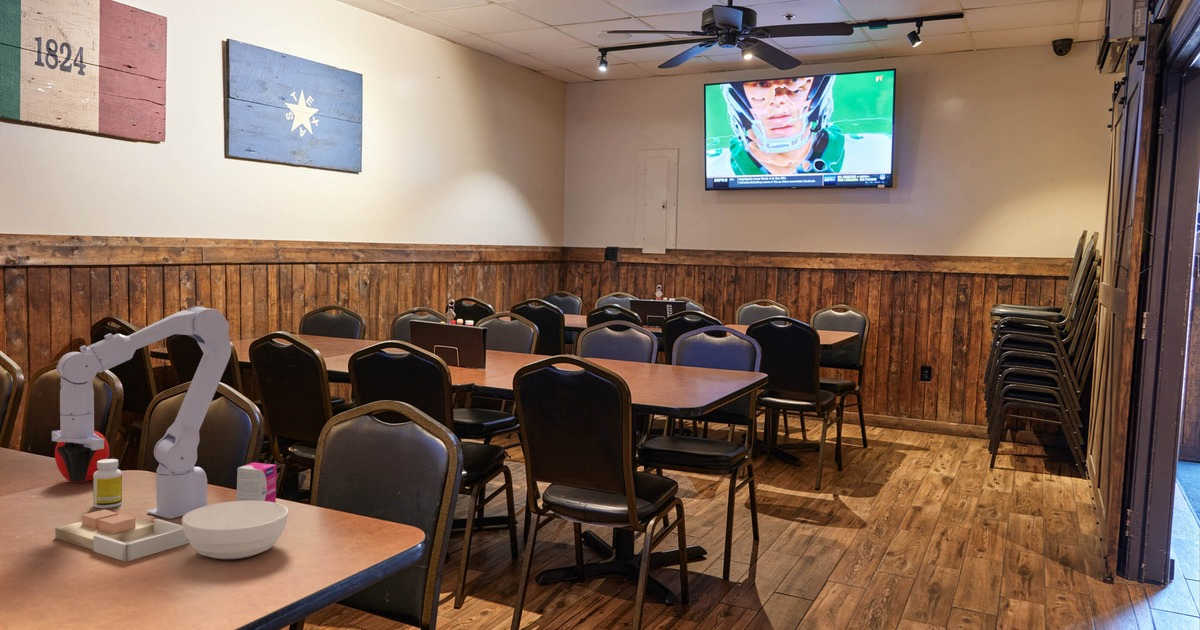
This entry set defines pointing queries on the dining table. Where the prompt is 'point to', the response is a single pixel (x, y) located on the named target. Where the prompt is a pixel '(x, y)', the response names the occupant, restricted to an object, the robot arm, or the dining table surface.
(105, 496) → the supplement bottle
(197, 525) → the bowl
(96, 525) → the tile
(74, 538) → the plate
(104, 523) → the tile
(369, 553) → the dining table surface
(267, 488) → the supplement box
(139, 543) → the tray
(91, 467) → the tomato
